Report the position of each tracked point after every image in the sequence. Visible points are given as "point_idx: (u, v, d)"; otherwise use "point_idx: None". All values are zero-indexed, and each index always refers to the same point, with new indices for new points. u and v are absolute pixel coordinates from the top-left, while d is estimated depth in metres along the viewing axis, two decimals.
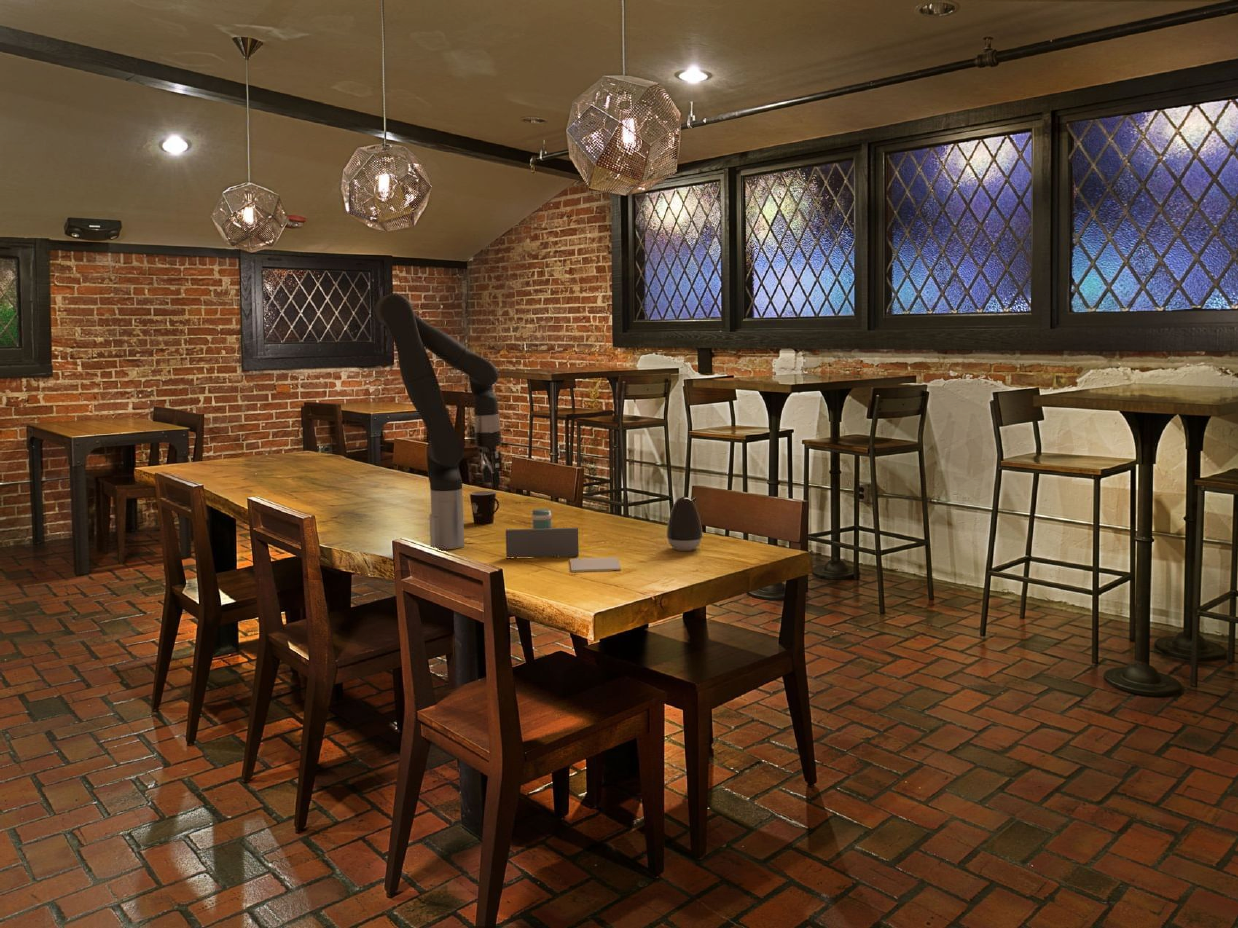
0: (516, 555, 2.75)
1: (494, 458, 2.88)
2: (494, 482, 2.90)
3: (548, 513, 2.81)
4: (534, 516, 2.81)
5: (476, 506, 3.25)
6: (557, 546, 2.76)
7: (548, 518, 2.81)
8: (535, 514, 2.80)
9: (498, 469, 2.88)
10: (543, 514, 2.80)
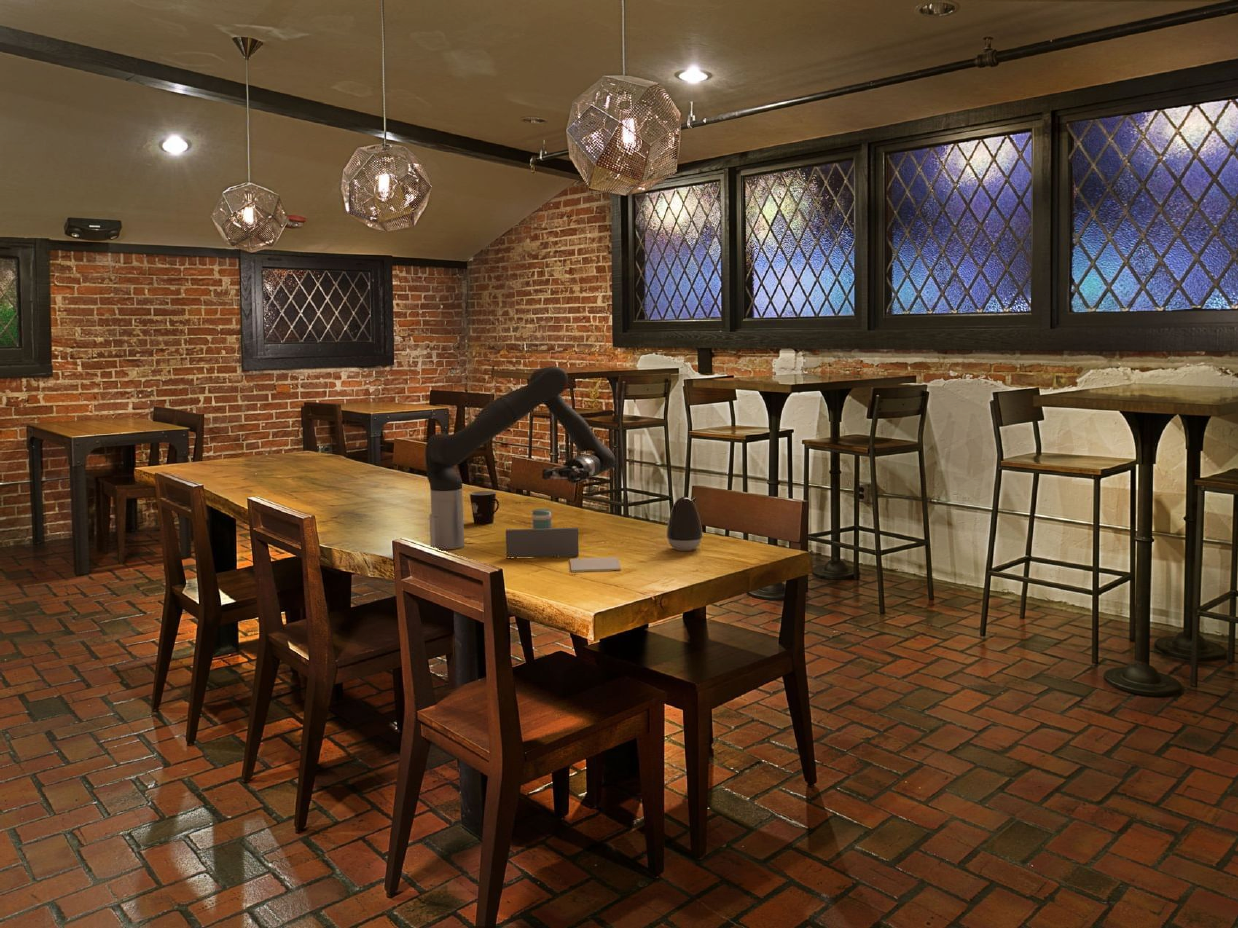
0: (516, 555, 2.75)
1: (589, 470, 2.97)
2: (574, 474, 2.91)
3: (548, 513, 2.81)
4: (534, 516, 2.81)
5: (476, 506, 3.25)
6: (557, 546, 2.76)
7: (548, 518, 2.81)
8: (535, 514, 2.80)
9: (586, 475, 2.94)
10: (543, 514, 2.80)
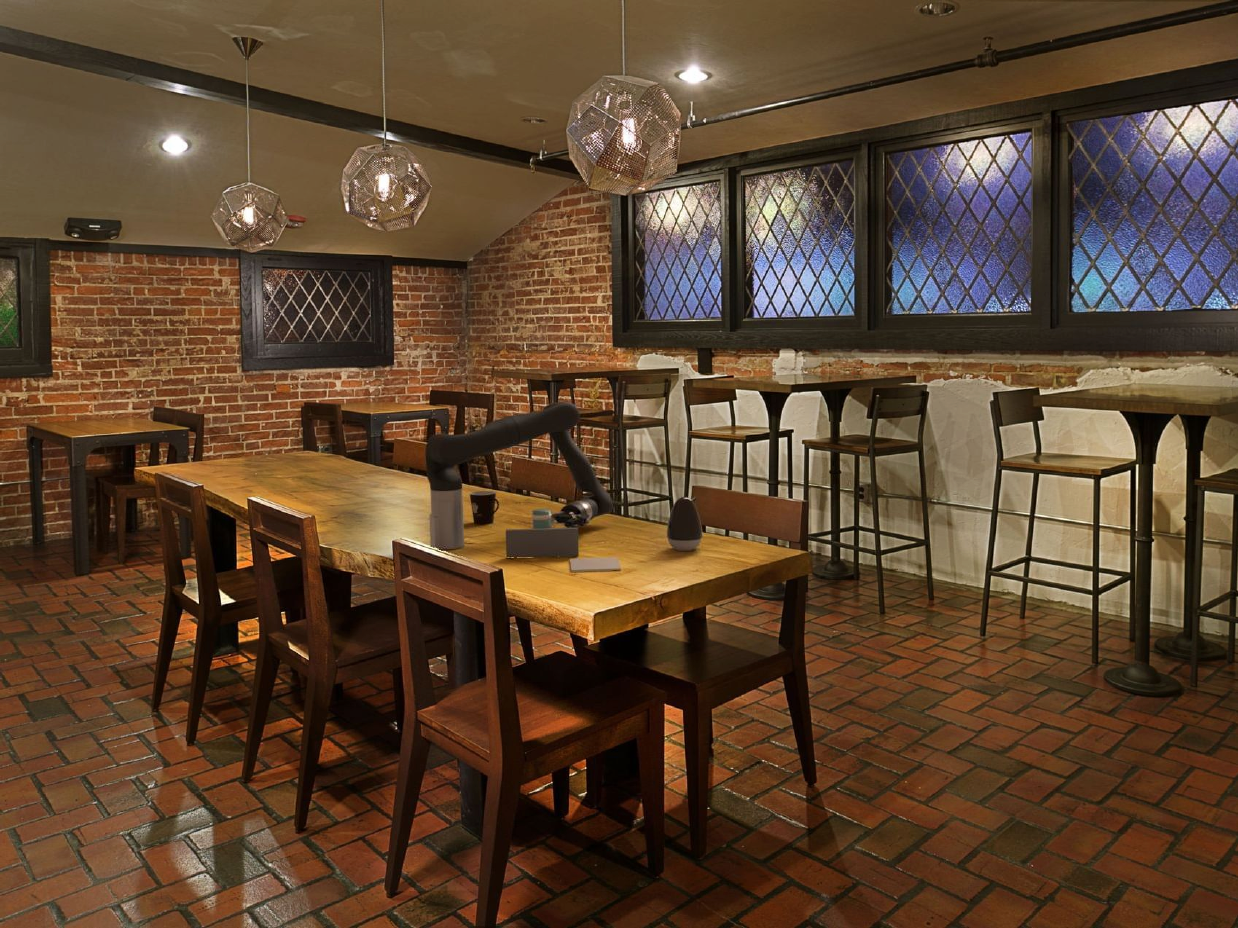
0: (516, 555, 2.75)
1: (587, 517, 2.96)
2: (571, 521, 2.90)
3: (548, 513, 2.81)
4: (534, 516, 2.80)
5: (476, 506, 3.25)
6: (557, 546, 2.76)
7: (548, 518, 2.81)
8: (535, 514, 2.80)
9: (583, 522, 2.93)
10: (543, 514, 2.80)
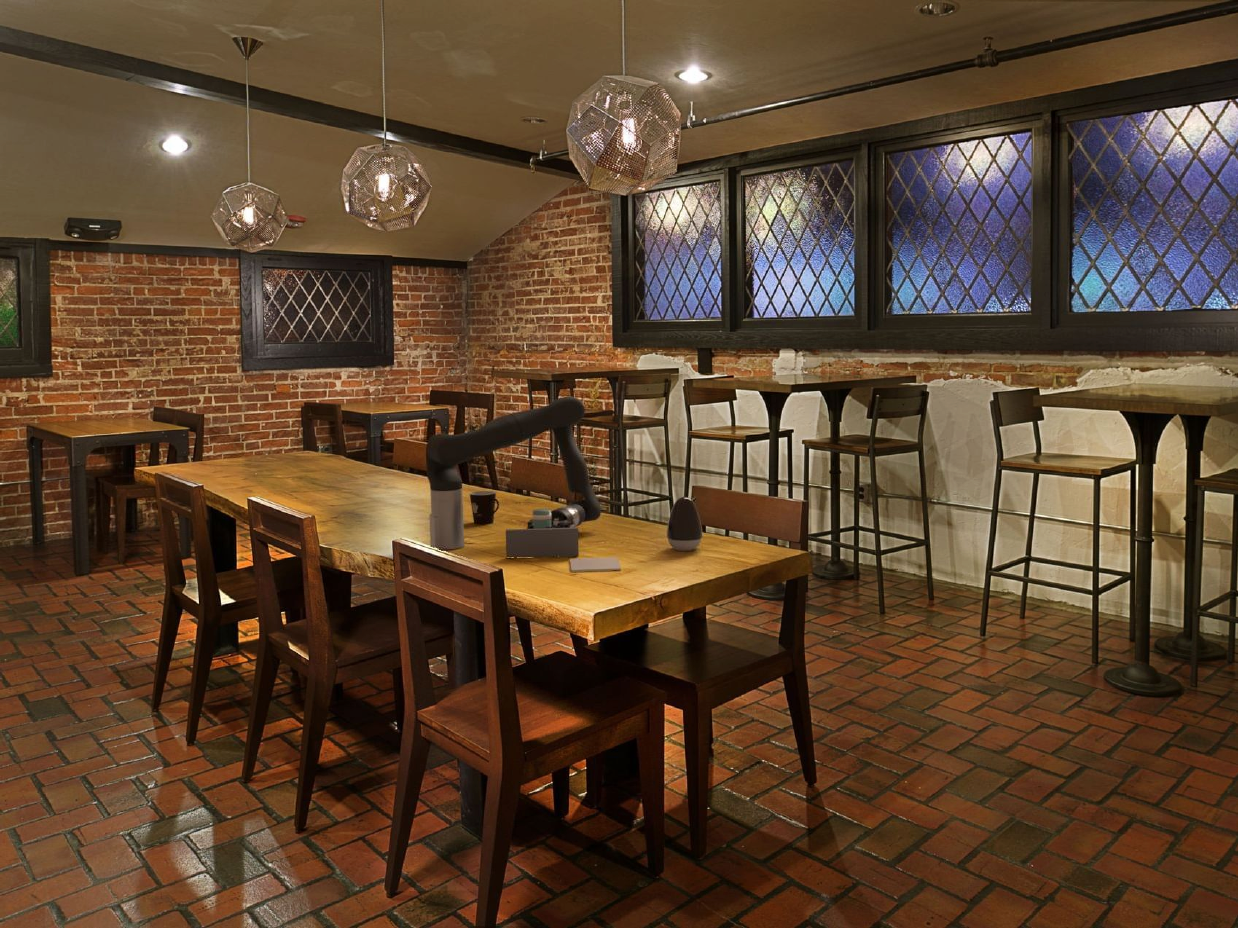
0: (516, 555, 2.75)
1: (570, 523, 2.86)
2: None
3: (548, 513, 2.81)
4: (534, 516, 2.81)
5: (476, 506, 3.25)
6: (557, 546, 2.76)
7: (548, 518, 2.81)
8: (535, 514, 2.80)
9: None
10: (543, 514, 2.80)
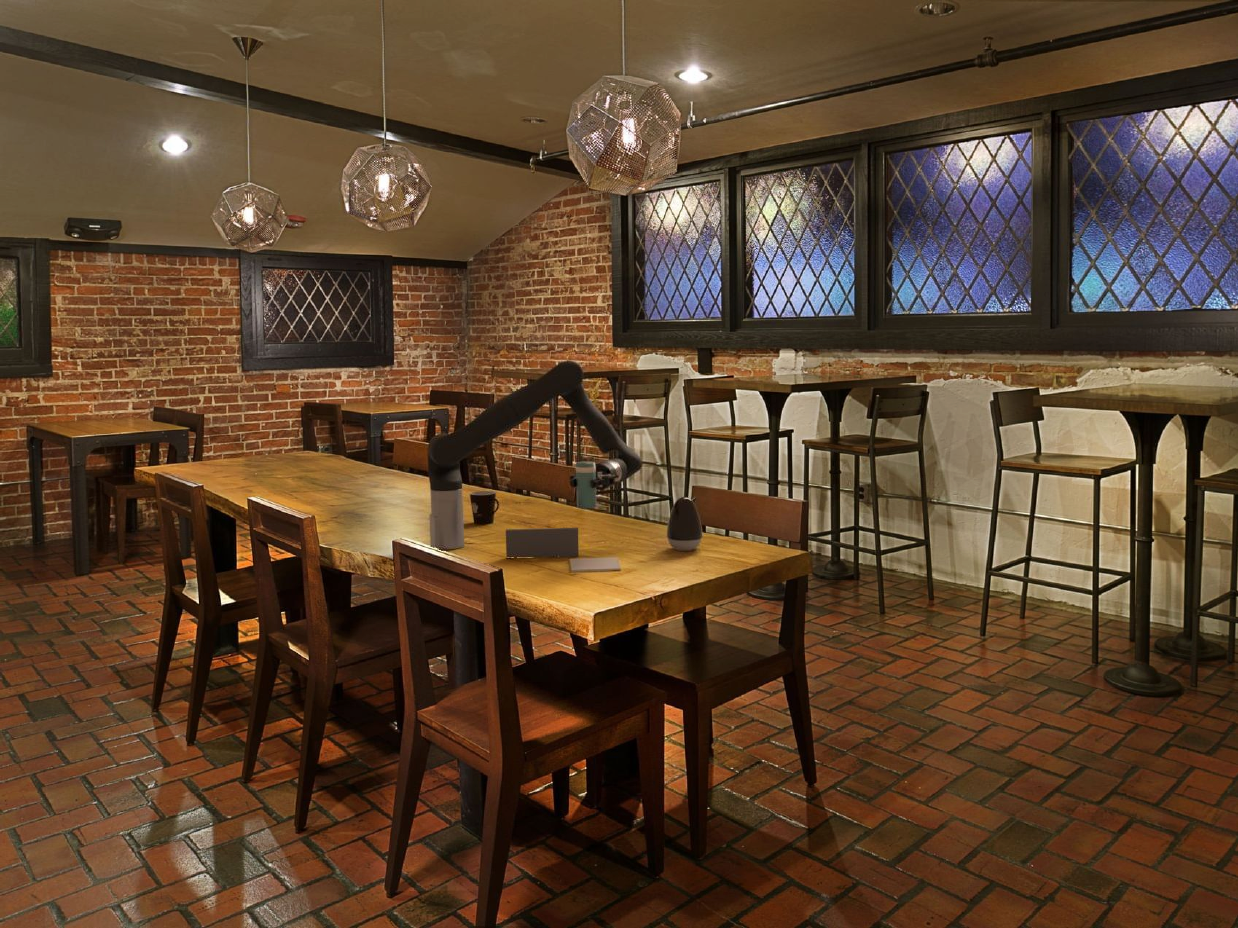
0: (516, 555, 2.75)
1: (615, 477, 2.70)
2: (596, 481, 2.64)
3: (593, 465, 2.65)
4: (578, 468, 2.64)
5: (476, 506, 3.25)
6: (557, 546, 2.76)
7: (593, 470, 2.65)
8: (579, 466, 2.64)
9: (609, 482, 2.67)
10: (588, 466, 2.64)
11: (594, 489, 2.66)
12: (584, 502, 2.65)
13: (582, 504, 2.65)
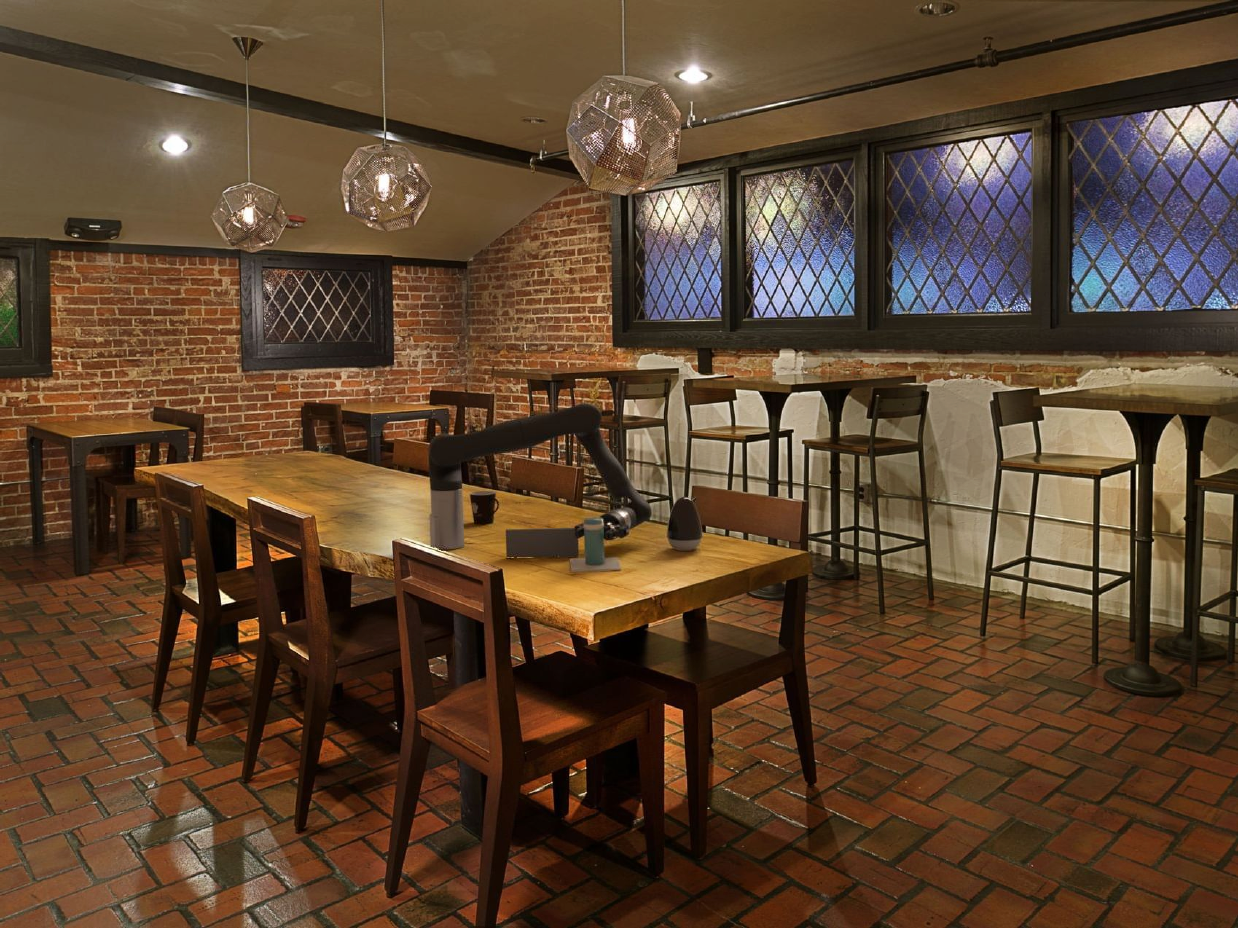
0: (516, 555, 2.75)
1: (627, 528, 2.68)
2: (610, 533, 2.62)
3: (601, 522, 2.63)
4: (586, 525, 2.63)
5: (476, 506, 3.25)
6: (557, 546, 2.76)
7: (601, 527, 2.63)
8: (587, 523, 2.62)
9: (623, 533, 2.65)
10: (596, 523, 2.62)
11: (602, 546, 2.64)
12: (592, 559, 2.63)
13: (590, 561, 2.64)
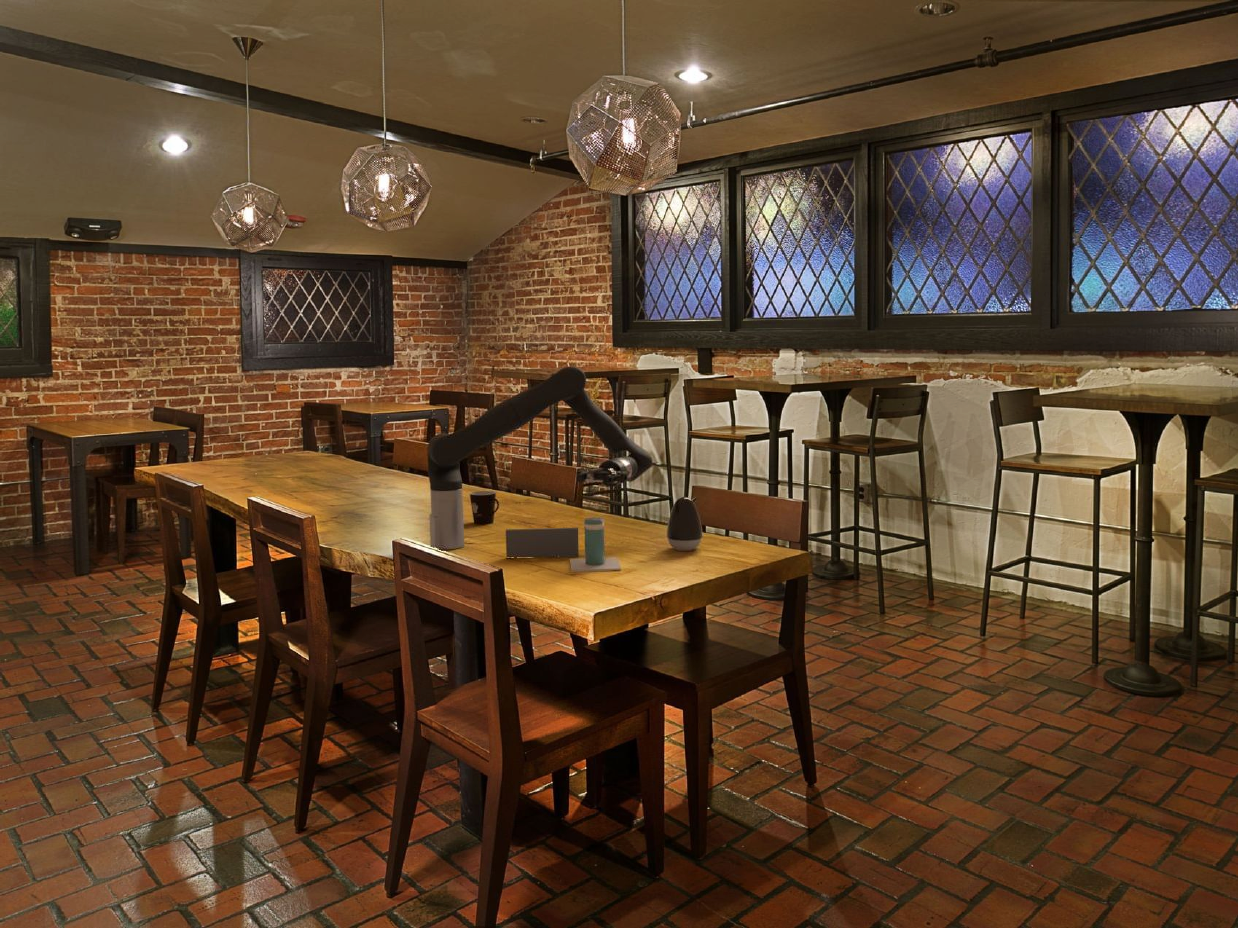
0: (516, 555, 2.75)
1: (628, 473, 2.74)
2: (611, 477, 2.68)
3: (601, 522, 2.63)
4: (586, 525, 2.63)
5: (476, 506, 3.25)
6: (557, 546, 2.76)
7: (601, 527, 2.63)
8: (587, 523, 2.62)
9: (624, 478, 2.71)
10: (596, 523, 2.62)
11: (602, 546, 2.64)
12: (592, 559, 2.63)
13: (590, 561, 2.64)
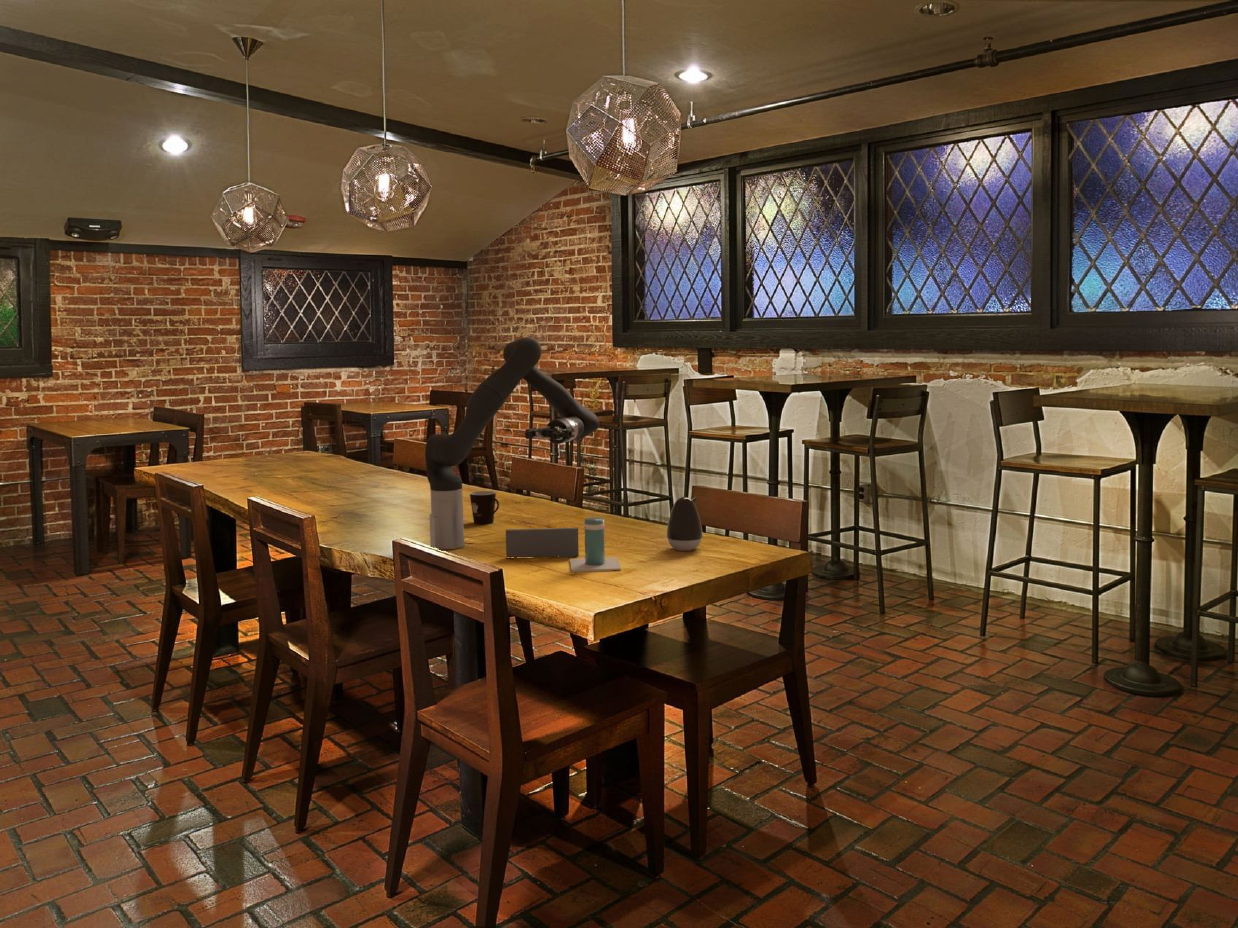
0: (516, 555, 2.75)
1: (572, 430, 2.97)
2: (556, 433, 2.91)
3: (601, 522, 2.63)
4: (586, 525, 2.63)
5: (476, 506, 3.25)
6: (557, 546, 2.76)
7: (601, 527, 2.63)
8: (588, 523, 2.62)
9: (568, 435, 2.94)
10: (597, 523, 2.62)
11: (602, 546, 2.64)
12: (592, 559, 2.63)
13: (590, 561, 2.64)
